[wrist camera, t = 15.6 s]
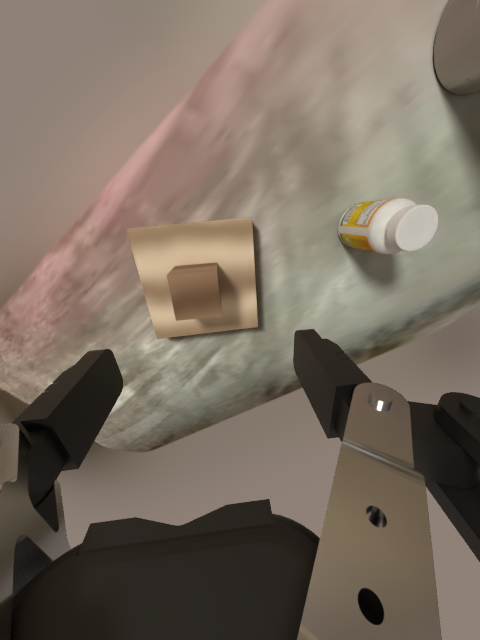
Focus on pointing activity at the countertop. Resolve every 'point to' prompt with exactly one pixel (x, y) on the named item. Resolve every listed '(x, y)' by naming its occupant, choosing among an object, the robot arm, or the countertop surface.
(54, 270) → the countertop surface
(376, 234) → the supplement bottle
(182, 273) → the walnut cube
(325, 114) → the countertop surface
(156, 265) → the maple block
